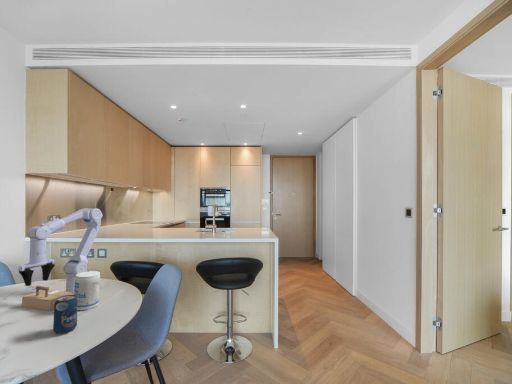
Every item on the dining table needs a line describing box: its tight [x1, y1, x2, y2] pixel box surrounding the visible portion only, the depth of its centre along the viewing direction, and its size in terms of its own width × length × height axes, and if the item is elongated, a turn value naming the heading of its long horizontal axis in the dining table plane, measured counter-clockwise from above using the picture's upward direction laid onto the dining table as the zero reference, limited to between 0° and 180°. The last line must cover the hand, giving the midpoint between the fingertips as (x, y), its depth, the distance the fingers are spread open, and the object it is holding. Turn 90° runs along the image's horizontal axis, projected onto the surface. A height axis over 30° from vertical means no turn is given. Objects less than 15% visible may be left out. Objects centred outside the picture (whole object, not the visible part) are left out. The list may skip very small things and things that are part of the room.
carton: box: [21, 289, 72, 311], centre depth 117 cm, size 10×16×4 cm, turn 76°
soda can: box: [52, 295, 78, 336], centre depth 93 cm, size 7×7×12 cm
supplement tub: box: [74, 270, 101, 311], centre depth 115 cm, size 10×10×15 cm
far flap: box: [22, 285, 61, 301], centre depth 114 cm, size 5×16×5 cm, turn 76°
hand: (36, 282), depth 116 cm, fingers open, 7 cm apart
